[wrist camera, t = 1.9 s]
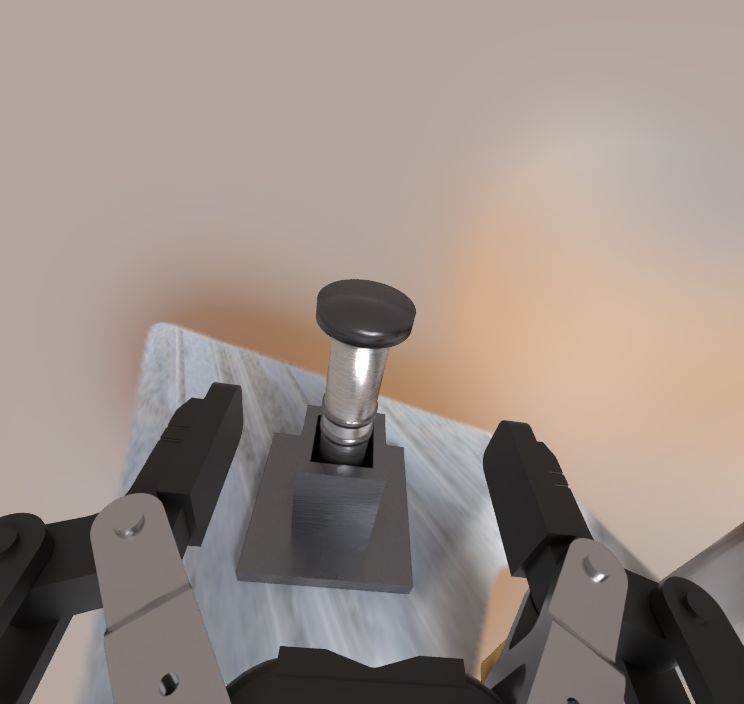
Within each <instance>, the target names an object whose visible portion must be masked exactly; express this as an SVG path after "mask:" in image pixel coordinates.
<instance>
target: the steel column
mask: <svg viewBox="0 0 744 704" xmlns="http://www.w3.org/2000/svg"><path fill="white" fill-rule="evenodd" d="M415 314H416V309H415V306H414V304H413V302H412V301H411V300H410V299H409V298H408V297H407V296H406V295H405V294H404V293H402V292H400V291H399V290H397V289H395V288H393V287H391V286H388V285H385V284H382V283H378V282H374V281H369V280H359V279H350V280H341V281H337V282H333V283H331V284H329V285H327V286H325V287H324V288H323V289H322V290H321V291H320V292H319V294H318V297H317V311H316V320H317V323H318V325H319V326H320V328H321V329H322V330H323V331H324V332H325V333H326V334H327V335H329V336H330V337H332V339H331V348H330V358H329V366H328V375H327V384H326V393H325V394H324V396H323V402H322V411H323V413H322V415H321V420H320V429H321V438H320V447H319V456H318V463H326V464H335V465H345V466H354V467H362V466H363V462H364V457H365V453H366V448H367V444H368V440H369V438H370V436H371V434H372V431H373V426H374V421H373V420H374V419H375V417H376V413H377V409H378V402H377V400H378V395H379V391H380V387H381V382H382V378H383V373H384V368H385V364H386V360H387V356H388V351H389V347H392V346H395V345H398V344H400V343H401V342H403V341H405V340H406V339H407V338H408V336H409V335H410V333H411V330H412V326H413V322H414V318H415Z"/></svg>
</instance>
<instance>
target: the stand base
mask: <svg viewBox="0 0 744 704" xmlns="http://www.w3.org/2000/svg"><path fill="white" fill-rule="evenodd" d="M322 413H323V411H322V407H320V406H312V405H308V407H307V412H306V417H305V422H304V427H303V432H302V436H297V435H288V434H279V433H275V435H274V438H273V442H272V445H271V449H270V453H269V456H268V460H267V463H266V467H265V471H264V474H263V478H262V481H261V485H260V489H259V492H258V496H257V499H256V503H255V507H254V510H253V514H252V517H251V521H250V525H249V528H248V532H247V535H246V539H245V543H244V546H243V550H242V553H241V557H240V561H239V564H238V568H237V571H236V574H237V581H250V582H263V583H275V584H288V585H301V586H314V587H326V588H339V589H352V590H364V591H377V592H390V593H402V594H409V593H410V591H411V589H412V587H413V583H412V567H411V552H410V537H409V522H408V507H407V492H406V477H405V462H404V447H396V446H387V445H386V433H385V414H380V413H376V417H375V419H374V420H373V421H374V426H373V431H372V434H371V436H370V438H369V440H368V444H367V448H366V453H365V457H364V462H363V466H362V467H354V466H345V465H335V464H326V463H318V456H319V447H320V438H321V429H320V420H321V415H322Z"/></svg>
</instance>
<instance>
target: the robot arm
mask: <svg viewBox="0 0 744 704" xmlns="http://www.w3.org/2000/svg"><path fill="white" fill-rule="evenodd" d="M242 429H243V407H242V389H241V386H239V385H232V384H224V383H216V382H214V383H213V384H212V385H211V387H210V389H209V391H208V393H207V394H206V396H205V398H204V399H199V398H191V399H190V400H188V401H187V402H186V403H185V404H183V405H182V406H181V407H180V408H178V409H177V410H176V412H175V414H174V415H173V417H172V419H171V420H170V422H169V424H168V427H167V428H166V429H165V431H164V432H163V434H162V436H161V439H160V441H158V443H157V444H156V446H155V448H154V449H153V451H152V453H151V454H150V456H149V458H148V460H147V461H146V463H145V465H144V466H143V468H142V470H141V471H140V473H139V475H138V477H137V478H136V480H135V482H134V483H133V485H132V487H131V488H130V490H129V491H128V492H127V494H126V495H125V496H124V497H121V498H119V499H117V500H115V501H113V502H112V503H110V504H109V505H107V506H106V507H105V508H104V509H103V510H102V511H101V512H100V513H97V514H94V515H91V516H87V517H82V518H77V519H72V520H66V521H61V522H56V523H51V524H44V522H43V521H42V520H41V518H39V517H38V516H36V515H33V514H29V513H16V514H10V515H6V516H3V517H0V704H29V703H30V701H31V699H32V697H33V695H34V693H35V690H36V689H37V687H38V685H39V683H40V681H41V679H42V677H43V675H44V673H45V671H46V669H47V667H48V665H49V663H50V661H51V659H52V656H53V655H54V652H55V651H56V649H57V647H58V645H59V643H60V640H61V639H62V636H63V635H64V633H65V631H66V628H67V627H68V625H69V623H70V620H71V619H72V617H73V615H76V614H80V613H84V612H88V611H92V610H95V609H99V608H104V614H105V619H106V632H105V634H104V646H105V653H106V659H107V665H108V670H109V676H110V682H111V687H112V693H113V699H114V704H623V700H624V701H625V704H691V703H690V700H689V698H688V696H687V694H686V692H685V689H684V687H683V685H682V683H681V680H682V681H683V682H684V683H685V684H686V685H687V686H688V688H689V690H690V692H691V694H692V697H693V699H694V701H695V703H696V704H744V522H743V523H742V524H740V525H739V526H737V527H736V528H735V529H733V530H732V531H730V532H729V533H728V534H726V535H725V536H724V537H722V538H721V539H719V540H718V541H716V542H715V543H713V544H712V545H711V546H709V547H708V548H706V549H705V550H704V551H703V552H701V553H699V554H698V555H697V556H695V557H694V558H693V559H691V560H690V561H688V562H687V563H685V564H684V565H683V566H681V567H679V568H678V569H677V570H675V571H674V572H672V573H671V574H670V575H668V576H667V577H666V578H664V579H663V580H661V581H660V582H658V583H657V582H654V581H652V580H650V579H647V578H645V577H642V576H640V575H638V574H635V573H633V572H631V571H628V570H626V569H624V568H623V566H622V564H621V563H620V561H619V560H618V559H617V557H616V556H615V555H614V554H613V553H612V552H611V551H610V550H609V549H607V548H606V547H605V546H603V545H602V544H600V543H598V542H596V541H594V539H593V537H592V536H591V533H590V531H589V529H588V527H587V525H586V522H585V520H584V518H583V516H582V514H581V511H580V509H579V507H578V505H577V503H576V500H575V498H574V496H573V494H572V492H571V490H570V488H568V483H567V481H566V479H565V477H564V475H562V470H561V468H560V465H559V463H558V461H557V459H556V457H555V456H554V454H553V453H552V452H551V451H550V450H549V449H548V448H547V447H546V445H545V444H544V443H543V442H537V441H536V438H535V436H534V434H533V431H532V429H531V427H530V426H529V424H527V423H521V422H513V421H505V420H503V421H501V422H500V423H499V425H498V427H497V429H496V431H495V433H494V435H493V437H492V438H491V440H490V442H489V444H488V446H487V448H486V450H485V452H484V456H483V470H484V474H485V478H486V481H487V485H488V489H489V493H490V497H491V500H492V504H493V508H494V512H495V516H496V519H497V523H498V527H499V531H500V535H501V538H502V542H503V546H504V550H505V554H506V557H507V561H508V565H509V569H510V573H511V576H513V577H523V578H527V581H528V584H529V589H527V591H526V593H525V595H524V597H523V600H522V602H521V605H520V608H519V610H518V613H517V615H516V617H515V620H514V622H513V625H512V627H511V630H510V632H509V635H508V637H507V640H506V642H505V645H504V647H503V650H502V652H501V654H500V656H499V658H498V659H497V661H496V662H495V664H494V665H493V667H492V669H491V670H490V672H489V674H488V676H487V678H486V680H485V682H484V684H483V683H482V682H480V681H479V680H477V679H475V678H474V677H472V676H470V675H469V674H466V673H465V669H464V662H463V659H456V658H442V657H428V656H417V657H414V658H410V659H407V660H403V661H399V662H396V663H392V664H388V665H385V666H381V667H377V668H372V667H368V666H366V665H363V664H361V663H358V662H356V661H354V660H351V659H349V658H346V657H344V656H341V655H339V654H336V653H334V652H332V651H329V650H327V649H314V648H300V647H286V646H280V649H279V655H278V658H276V659H272V660H268V661H265V662H263V663H261V664H258V665H256V666H254V667H252V668H251V669H249V670H247V671H245V672H244V673H242V674H241V675H240V676H238V677H237V678H236V679H234V680H233V681H232V682H231V683H230V684H229V685H227V686H226V687H225V684H224V681H223V678H222V675H221V672H220V669H219V666H218V663H217V660H216V657H215V654H214V652H213V649H212V646H211V643H210V640H209V637H208V634H207V631H206V628H205V625H204V622H203V619H202V616H201V613H200V610H199V607H198V604H197V601H196V598H195V596H194V593H193V590H192V587H191V585H190V583H189V580H188V577H187V574H186V572H185V569H184V566H183V563H182V559H183V556H184V554H185V551H186V549H187V546H188V545H189V546H200V547H201V544H202V541H203V539H204V536H205V533H206V531H207V528H208V525H209V522H210V520H211V517H212V514H213V512H214V509H215V506H216V504H217V501H218V498H219V495H220V493H221V490H222V487H223V485H224V482H225V479H226V477H227V474H228V471H229V468H230V466H231V463H232V460H233V458H234V455H235V452H236V449H237V447H238V444H239V441H240V438H241V434H242ZM680 679H681V680H680Z"/></svg>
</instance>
